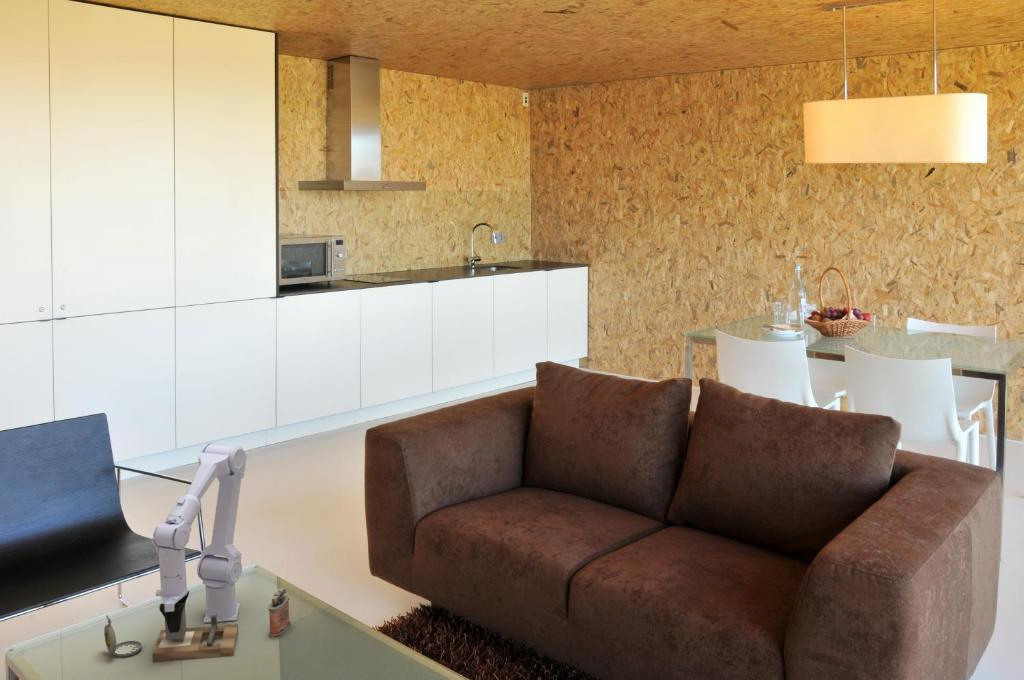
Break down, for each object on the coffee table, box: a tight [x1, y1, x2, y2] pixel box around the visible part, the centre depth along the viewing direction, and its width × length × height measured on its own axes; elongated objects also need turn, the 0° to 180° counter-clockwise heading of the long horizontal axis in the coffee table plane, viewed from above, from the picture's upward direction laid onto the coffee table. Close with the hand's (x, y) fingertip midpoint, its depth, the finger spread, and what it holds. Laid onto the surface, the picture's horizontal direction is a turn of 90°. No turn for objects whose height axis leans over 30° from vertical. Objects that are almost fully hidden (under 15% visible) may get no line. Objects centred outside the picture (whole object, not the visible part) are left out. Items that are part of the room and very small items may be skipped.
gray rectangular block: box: [164, 603, 187, 640], centre depth 226 cm, size 4×4×7 cm
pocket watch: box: [103, 614, 143, 657], centre depth 224 cm, size 8×8×10 cm
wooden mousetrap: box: [151, 615, 239, 662], centre depth 228 cm, size 12×18×5 cm, turn 101°
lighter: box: [267, 587, 291, 639], centre depth 236 cm, size 8×3×10 cm, turn 168°
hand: (176, 627), depth 227 cm, fingers closed on gray rectangular block, 4 cm apart
